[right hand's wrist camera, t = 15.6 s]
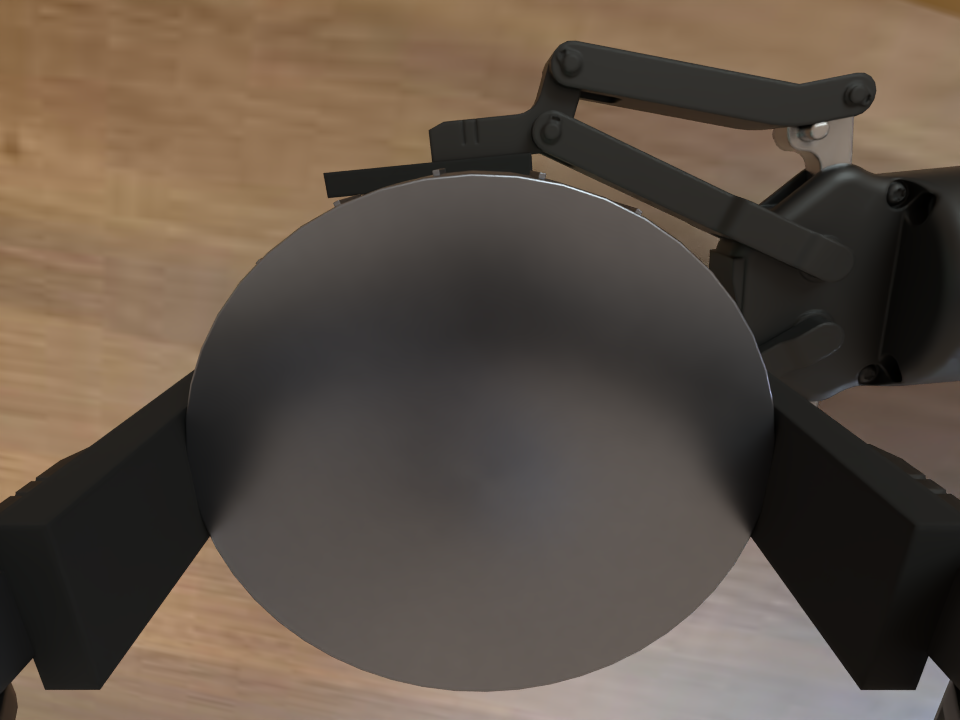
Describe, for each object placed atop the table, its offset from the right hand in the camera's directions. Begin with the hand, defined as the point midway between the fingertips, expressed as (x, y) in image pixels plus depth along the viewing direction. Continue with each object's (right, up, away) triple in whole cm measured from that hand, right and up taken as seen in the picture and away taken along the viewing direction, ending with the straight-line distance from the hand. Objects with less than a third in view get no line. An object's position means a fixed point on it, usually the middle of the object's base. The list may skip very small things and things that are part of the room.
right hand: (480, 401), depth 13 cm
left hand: (-4, +2, +7) cm, 9 cm away
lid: (0, -1, -3) cm, 3 cm away
